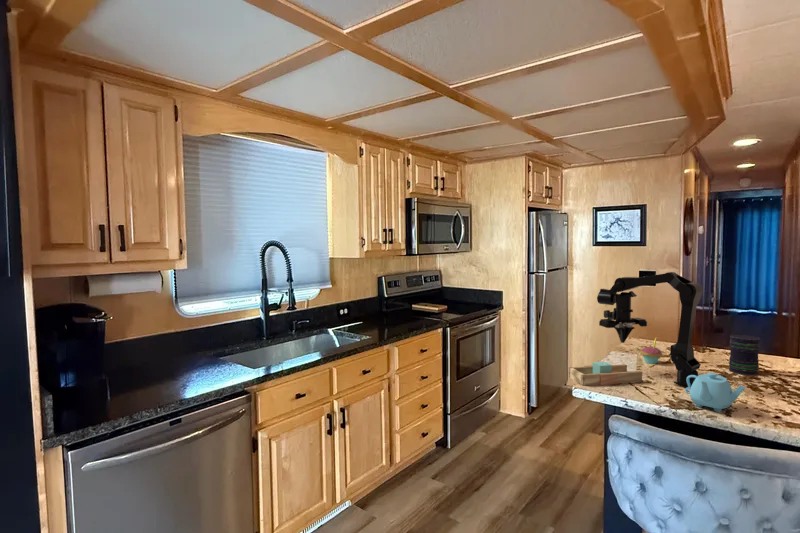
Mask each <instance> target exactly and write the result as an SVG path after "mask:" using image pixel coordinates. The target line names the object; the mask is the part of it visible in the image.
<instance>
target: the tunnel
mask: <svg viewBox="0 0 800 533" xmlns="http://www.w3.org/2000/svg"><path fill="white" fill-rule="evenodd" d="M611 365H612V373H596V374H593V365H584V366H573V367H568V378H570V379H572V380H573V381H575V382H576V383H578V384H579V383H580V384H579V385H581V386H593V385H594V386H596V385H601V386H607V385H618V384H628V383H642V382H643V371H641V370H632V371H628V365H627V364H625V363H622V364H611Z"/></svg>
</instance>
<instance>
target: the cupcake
mask: <svg viewBox="0 0 800 533" xmlns="http://www.w3.org/2000/svg"><path fill="white" fill-rule="evenodd" d="M657 338H658V337H655V338H654V341H653V346H645V347H643V348H641V349H640V352H639V354H640V355H642V357H643V359H644V362H645V363H646V364H652V365H654V364H658V361H659V359H660V358H661V357H662V356H663V352H662V351H661V349H659V348H658V347H656V342H657Z"/></svg>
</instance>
